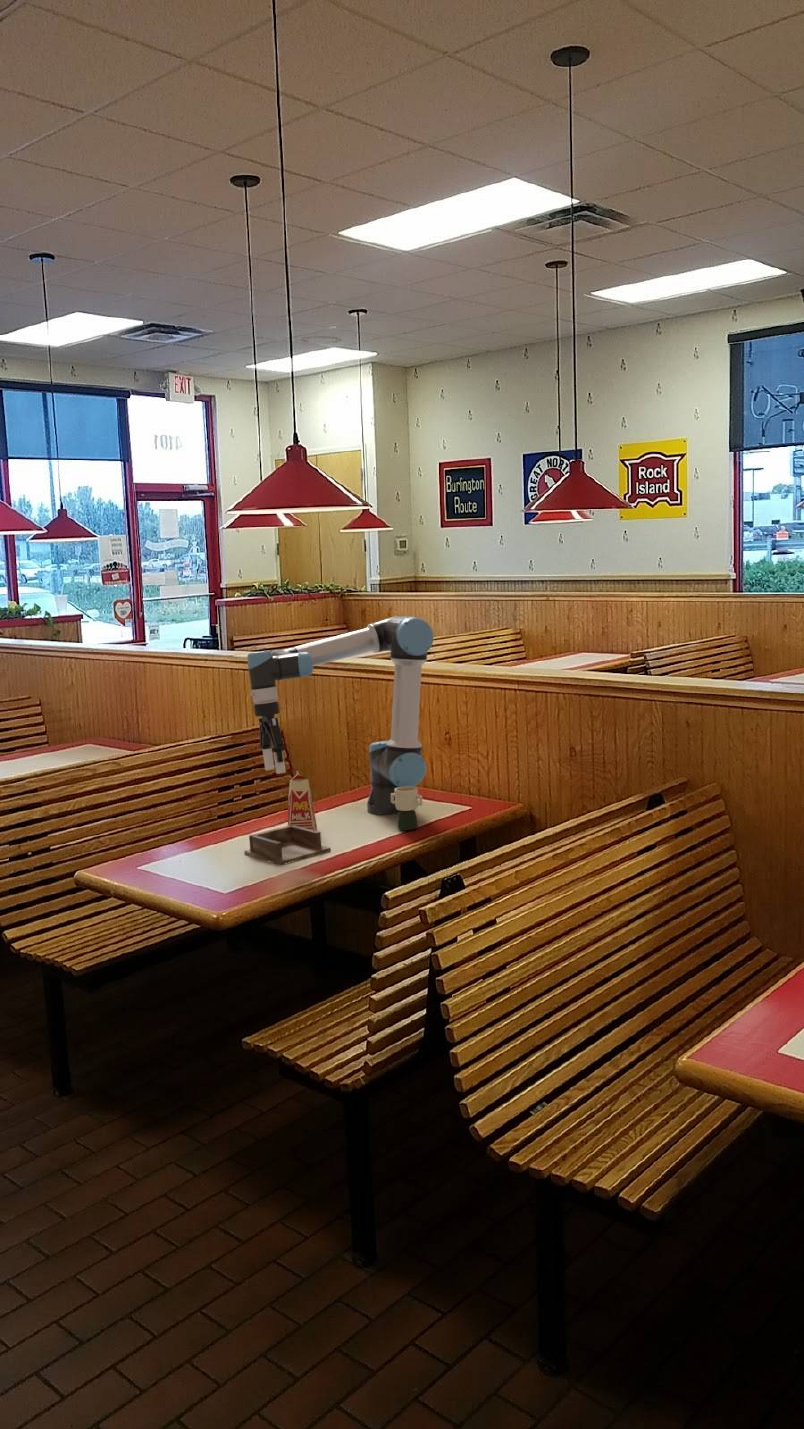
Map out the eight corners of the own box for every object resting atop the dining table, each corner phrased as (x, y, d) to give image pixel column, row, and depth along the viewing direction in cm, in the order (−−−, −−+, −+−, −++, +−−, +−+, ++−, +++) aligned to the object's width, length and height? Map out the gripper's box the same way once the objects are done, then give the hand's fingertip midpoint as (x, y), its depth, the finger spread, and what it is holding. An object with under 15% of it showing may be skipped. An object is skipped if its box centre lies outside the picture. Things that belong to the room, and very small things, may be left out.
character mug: (428, 827, 342) (426, 786, 340) (418, 833, 336) (416, 792, 334) (397, 825, 347) (395, 784, 345) (387, 831, 341) (384, 790, 339)
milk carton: (316, 834, 342) (312, 771, 339) (287, 836, 341) (282, 773, 338) (317, 827, 351) (313, 765, 348) (288, 829, 350) (283, 767, 347)
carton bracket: (294, 840, 335) (293, 823, 335) (330, 851, 322) (329, 832, 321) (244, 854, 324) (243, 835, 323) (280, 865, 310) (278, 846, 309)
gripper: (244, 703, 344) (253, 770, 346) (263, 704, 321) (273, 776, 322) (267, 699, 347) (276, 766, 348) (288, 700, 323) (298, 772, 325)
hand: (275, 771), depth 335 cm, fingers open, 13 cm apart
